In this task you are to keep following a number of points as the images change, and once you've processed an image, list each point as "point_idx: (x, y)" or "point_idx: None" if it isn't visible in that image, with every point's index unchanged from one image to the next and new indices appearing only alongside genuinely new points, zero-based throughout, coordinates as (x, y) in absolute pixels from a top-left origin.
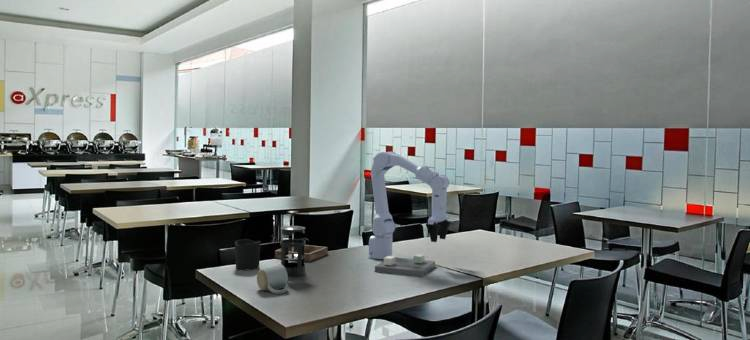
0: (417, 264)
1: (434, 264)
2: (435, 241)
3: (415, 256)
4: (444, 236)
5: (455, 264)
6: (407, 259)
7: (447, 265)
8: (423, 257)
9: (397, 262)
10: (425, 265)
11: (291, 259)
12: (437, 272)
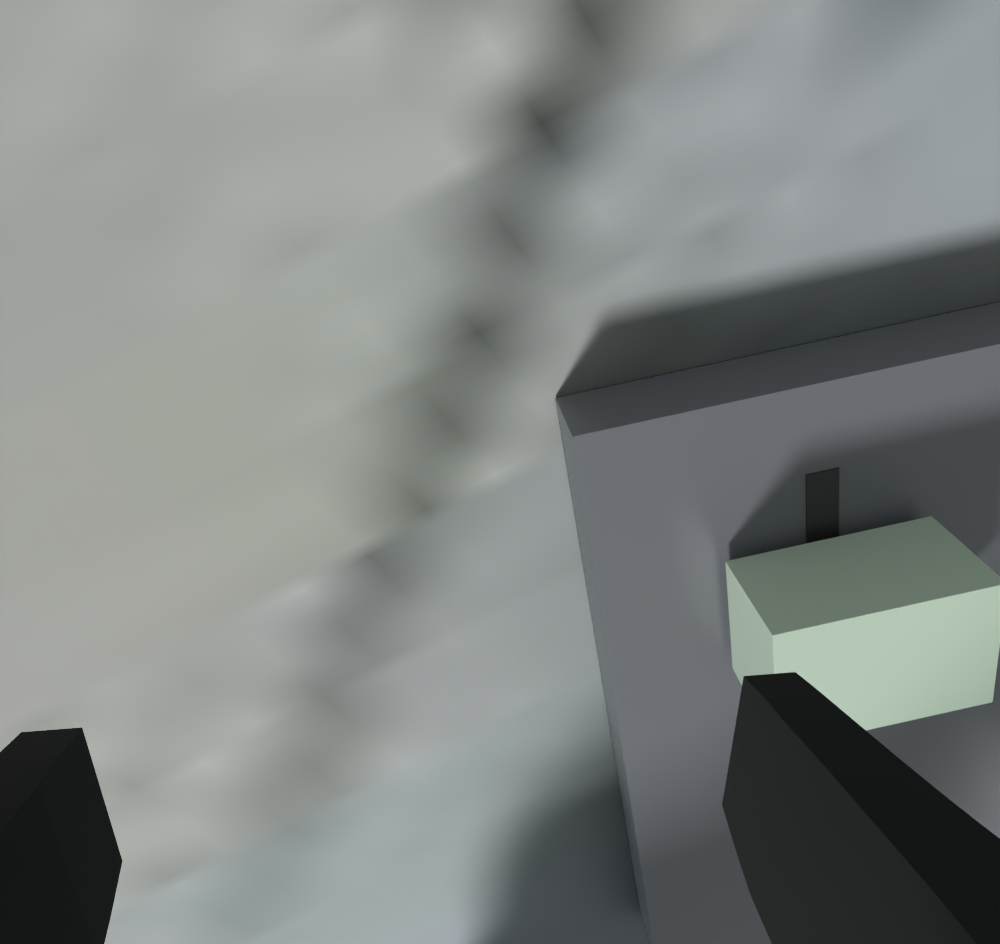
0: (967, 537)
1: (604, 405)
2: (812, 696)
3: (993, 671)
4: (42, 819)
5: (127, 153)
6: (696, 796)
7: (334, 251)
8: (822, 593)
9: (949, 785)
10: (993, 402)
11: None
12: (975, 135)
